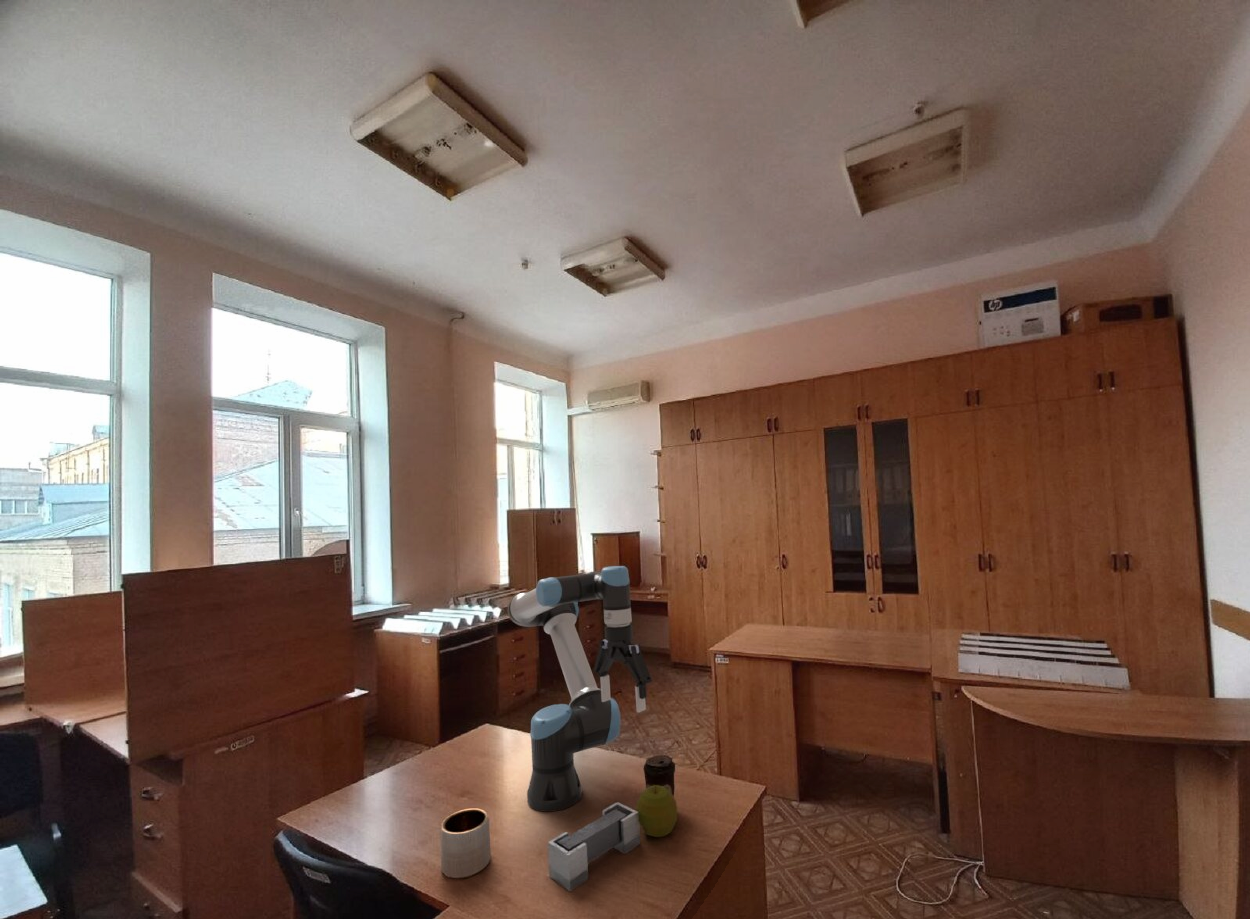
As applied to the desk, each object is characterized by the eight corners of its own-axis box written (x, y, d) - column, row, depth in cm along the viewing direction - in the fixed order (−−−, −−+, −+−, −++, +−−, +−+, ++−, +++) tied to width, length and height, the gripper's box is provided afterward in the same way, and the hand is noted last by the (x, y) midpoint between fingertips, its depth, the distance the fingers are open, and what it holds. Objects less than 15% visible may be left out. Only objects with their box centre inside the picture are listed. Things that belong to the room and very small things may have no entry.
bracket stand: (549, 876, 115) (547, 842, 116) (619, 832, 130) (617, 802, 131) (570, 891, 110) (568, 855, 111) (640, 843, 125) (638, 812, 125)
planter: (448, 853, 126) (447, 810, 127) (494, 847, 127) (492, 805, 128) (435, 883, 115) (434, 836, 116) (486, 877, 116) (484, 830, 117)
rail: (558, 866, 115) (557, 841, 116) (616, 831, 127) (615, 809, 127) (569, 874, 112) (568, 849, 113) (628, 838, 124) (626, 815, 124)
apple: (638, 822, 134) (635, 776, 135) (677, 820, 133) (673, 774, 135) (638, 846, 124) (635, 796, 125) (679, 844, 123) (676, 794, 125)
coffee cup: (676, 823, 132) (672, 768, 133) (643, 822, 134) (640, 767, 135) (680, 804, 140) (676, 753, 142) (649, 803, 142) (645, 752, 143)
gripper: (578, 622, 150) (582, 700, 148) (641, 631, 132) (647, 720, 130) (598, 617, 155) (602, 693, 153) (661, 626, 138) (667, 711, 135)
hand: (623, 705), depth 141 cm, fingers open, 13 cm apart
